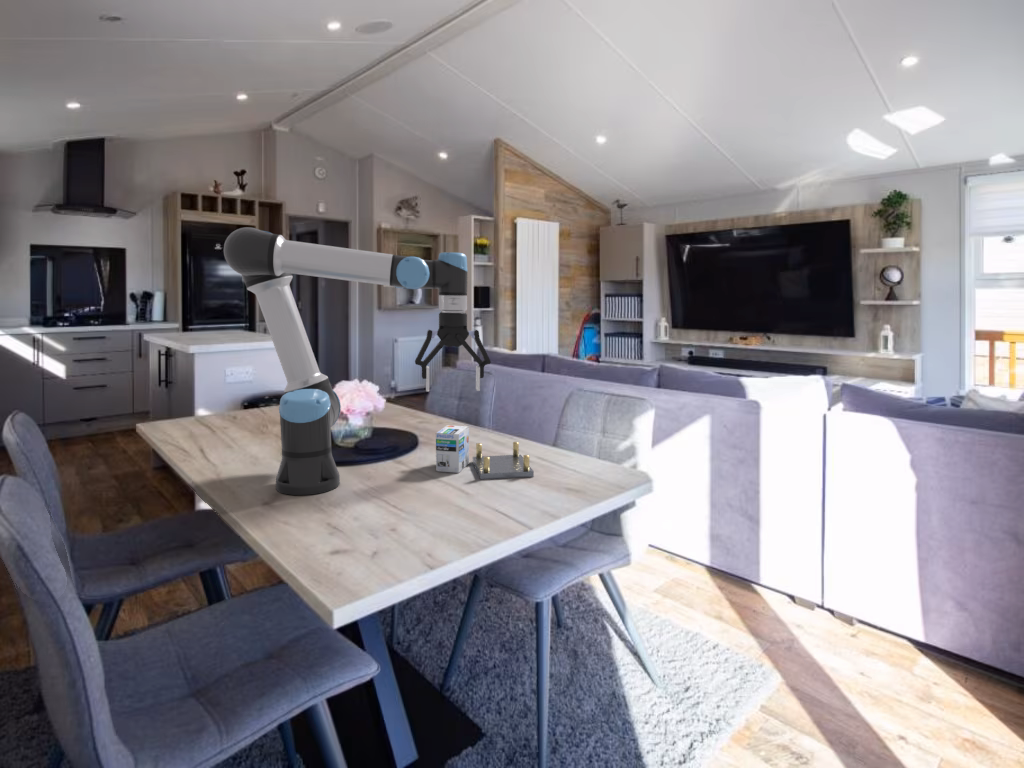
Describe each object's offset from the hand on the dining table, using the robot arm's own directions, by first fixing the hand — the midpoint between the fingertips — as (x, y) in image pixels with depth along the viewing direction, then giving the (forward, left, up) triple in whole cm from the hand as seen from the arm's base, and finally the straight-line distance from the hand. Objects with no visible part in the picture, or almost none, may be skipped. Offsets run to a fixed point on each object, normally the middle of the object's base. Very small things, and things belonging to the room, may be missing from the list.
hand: (452, 390), depth 172 cm
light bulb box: (0, 0, -22) cm, 22 cm away
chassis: (+13, -4, -21) cm, 25 cm away
